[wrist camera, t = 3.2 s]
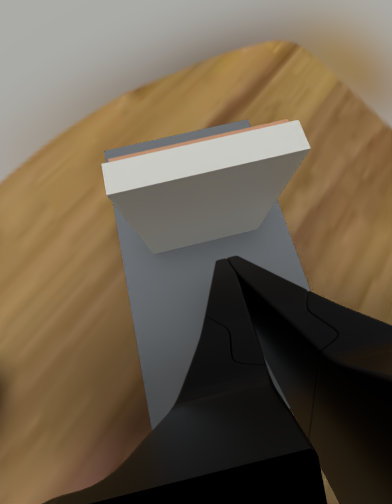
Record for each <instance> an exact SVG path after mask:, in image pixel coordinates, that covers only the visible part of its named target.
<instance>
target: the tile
mask: <svg viewBox="0 0 392 504" xmlns="http://www.w3.org/2000/svg"><path fill="white" fill-rule="evenodd" d="M310 149H311V148H310V146H309V143H308V141H307V139H306V136H305V134H304V132H303V129H302V127H301V125H300V122H299V120H296V121H292V122H289V120H288V119H285V120H281V121H276V122H272V123H267V124H263V125H258V126H254V127H249V128H245V129H240V130H236V131H231V132H227V133H222V134H218V135H213V136H209V137H204V138H200V139H196V140H191V141H187V142H182V143H178V144H173V145H169V146H164V147H160V148H155V149H151V150H146V151H142V152H137V153H133V154H128V155H124V156H119V157H115V158H110V159H108V161H109V162H108V163H104V164H102V170H103V176H104V182H105V188H106V194H107V196H108V198H109V199H110V200H111V201H112V203H113V204H114V205H115V206H116V208H117V209H118V210H119V211H120V213H121V214H122V215H123V216H124V218H125V219H126V220H127V221H128V223H129V224H130V225H131V226H132V228H133V229H134V230H135V231H136V233H137V234H138V235H139V237H140V238H141V239H142V240H143V242H144V243H145V244H146V245H147V247H148V248H149V249H150V250H151V252H152V253H153V254H157V253H161V252H166V251H170V250H174V249H178V248H182V247H186V246H190V245H195V244H199V243H203V242H207V241H211V240H215V239H219V238H224V237H228V236H232V235H236V234H240V233H244V232H248V231H253V230H257V229H258V227H259V226H260V224H261V223H262V221H263V220H264V218H265V217H266V215H267V214H268V212H269V211H270V209H271V208H272V206H273V205H274V203H275V202H276V200H277V199H278V197H279V196H280V194H281V193H282V191H283V189H284V188H285V186H286V185H287V183H288V182H289V180H290V179H291V177H292V176H293V174H294V173H295V171H296V170H297V168H298V167H299V165H300V164H301V162H302V161H303V159H304V158H305V156H306V155H307V153H308V152H309V150H310Z"/></svg>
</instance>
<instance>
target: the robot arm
mask: <svg viewBox="0 0 392 504" xmlns="http://www.w3.org/2000/svg"><path fill="white" fill-rule="evenodd" d="M264 358H265V359H266V361H267V363H268V365H269V367H270V369H271V371H272V373H273V375H274V377H275V379H276V381H277V383H278V385H279V387H280V389H281V391H282V393H283V394H284V396H285V398H286V400H287V402H288V404H289V406H290V408H291V410H292V412H293V414H294V416H295V417H294V416H293V414H292V413H291V411H290V410H289V408H288V406H287V405H286V403H285V402H284V400H283V399H282V397H281V395H280V394H279V392H278V391H277V389H276V387H275V386H274V384H273V381H272V379H271V376H270V374H269V371H268V368H267V365H266V362H265V359H264ZM295 418H296V419H295ZM296 420H297V421H296ZM320 467H321V468H320ZM321 469H322V470H323V472H324V474H325V476H326V478H327V480H328V482H329V484H330V486H331V488H332V490H333V492H334V494H335V496H336V498H337V500H338V502H339V504H392V325H389V324H387V323H384V322H382V321H379V320H377V319H374V318H371V317H369V316H366V315H364V314H361V313H359V312H356V311H354V310H351V309H349V308H346V307H344V306H342V305H339V304H337V303H334V302H332V301H330V300H328V299H326V298H324V297H321V296H319V295H317V294H315V293H313V292H311V291H308V290H307V289H305V288H303V287H301V286H299V285H297V284H295V283H293V282H291V281H288V280H286V279H284V278H282V277H280V276H278V275H276V274H274V273H272V272H270V271H268V270H266V269H264V268H262V267H260V266H258V265H256V264H254V263H252V262H250V261H248V260H246V259H244V258H242V257H240V256H237V255H235V256H231V257H228V258H227V259H226V258H223V259H219V260H216V262H215V266H214V271H213V276H212V281H211V286H210V291H209V296H208V301H207V306H206V311H205V318H204V321H203V326H202V330H201V334H200V338H199V341H198V344H197V347H196V350H195V353H194V356H193V358H192V361H191V364H190V366H189V369H188V372H187V374H186V377H185V380H184V382H183V385H182V388H181V390H180V393H179V395H178V397H177V399H176V401H175V403H174V405H173V407H172V408H171V410H170V411H169V412H168V414H167V415H166V416H165V417H164V418H163V419H162V420H161V421H160V422H159V424H158V425H157V426H156V427H155V428H154V429H153V430H152V431H151V432H150V434H149V435H148V436H147V437H146V438H145V439H144V440H143V441H142V442H141V444H140V445H139V446H138V447H137V448H136V449H135V450H134V451H133V452H132V453H131V455H130V456H129V457H128V458H127V459H126V460H125V461H124V462H123V463H122V464H121V465H120V466H119V467H118V468H117V469H116V470H115V471H114V472H113V473H111V474H110V475H109V476H107V477H106V478H105V479H103V480H101V481H100V482H98V483H96V484H94V485H93V486H90V487H88V488H85V489H83V490H80V491H76V492H73V493H69V494H65V495H62V496H59V497H56V498H53V499H50V500H48V501H47V502H45V503H43V504H327V500H326V495H325V490H324V484H323V479H322V474H321Z"/></svg>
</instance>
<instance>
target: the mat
mask: <svg viewBox="0 0 392 504" xmlns="http://www.w3.org/2000/svg"><path fill="white" fill-rule="evenodd" d="M249 127H251V126H250V124H249V121H248V119H247V120H242V121H238V122H233V123H229V124H224V125H220V126H215V127H211V128H206V129H202V130H197V131H193V132H188V133H184V134H179V135H175V136H170V137H166V138H161V139H157V140H152V141H148V142H143V143H139V144H134V145H130V146H125V147H121V148H116V149H112V150H107V151H104V154H105V159H106V163H108V162H109V161H108V159H110V158H115V157H119V156H124V155H128V154H133V153H137V152H142V151H146V150H151V149H155V148H160V147H164V146H169V145H173V144H178V143H182V142H187V141H191V140H196V139H200V138H204V137H209V136H213V135H218V134H222V133H227V132H231V131H236V130H240V129H245V128H249ZM113 206H114V212H115V218H116V224H117V230H118V236H119V241H120V247H121V253H122V259H123V265H124V271H125V277H126V282H127V288H128V294H129V300H130V306H131V312H132V318H133V323H134V329H135V335H136V341H137V347H138V353H139V359H140V364H141V370H142V376H143V382H144V388H145V394H146V400H147V406H148V411H149V417H150V423H151V429H152V430H153V429H154V428H155V427H156V426H157V425H158V424H159V422H160V421H161V420H162V419H163V418H164V417H165V416H166V415H167V414H168V412H169V411H170V410H171V408H172V407H173V405H174V403H175V401H176V399H177V397H178V395H179V393H180V390H181V388H182V385H183V382H184V380H185V377H186V374H187V372H188V369H189V366H190V364H191V361H192V358H193V356H194V353H195V350H196V347H197V344H198V341H199V338H200V334H201V330H202V326H203V321H204V318H205V311H206V306H207V301H208V296H209V291H210V286H211V281H212V276H213V271H214V266H215V262H216V260H219V259H223V258H226V259H227V258H228V257H231V256H235V255H237V256H240V257H242V258H244V259H246V260H248V261H250V262H252V263H254V264H256V265H258V266H260V267H262V268H264V269H266V270H268V271H270V272H272V273H274V274H276V275H278V276H280V277H282V278H284V279H286V280H288V281H291V282H293V283H295V284H297V285H299V286H301V287H303V288H305V289H307V290H308V291H310V288H309V285H308V283H307V280H306V277H305V274H304V272H303V269H302V266H301V263H300V261H299V258H298V255H297V253H296V250H295V247H294V244H293V242H292V239H291V236H290V233H289V231H288V228H287V225H286V222H285V220H284V217H283V214H282V211H281V209H280V206H279V203H278V200H276V202H275V203H274V205H273V206H272V208H271V209H270V211H269V212H268V214H267V215H266V217H265V218H264V220H263V221H262V223H261V224H260V226H259V227H258V229H257V230H253V231H248V232H244V233H240V234H236V235H232V236H228V237H224V238H219V239H215V240H211V241H207V242H203V243H199V244H195V245H190V246H186V247H182V248H178V249H174V250H170V251H166V252H161V253H157V254H153V253H152V252H151V250H150V249H149V248H148V247H147V245H146V244H145V243H144V242H143V240H142V239H141V238H140V237H139V235H138V234H137V233H136V231H135V230H134V229H133V228H132V226H131V225H130V224H129V223H128V221H127V220H126V219H125V218H124V216H123V215H122V214H121V213H120V211H119V210H118V209H117V208H116V206H115V205H114V204H113ZM264 359H265V358H264ZM265 362H266V365H267V368H268V371H269V374H270V376H271V379H272V381H273V384H274V386H275V387H276V389H277V391H278V392H279V394H280V395H281V397H282V399H283V400H284V402H285V403H286V405H287V406H288V408H290V406H289V404H288V402H287V400H286V398H285V396H284V394H283V393H282V391H281V389H280V387H279V385H278V383H277V381H276V379H275V377H274V375H273V373H272V371H271V369H270V367H269V365H268V363H267V361H266V359H265Z"/></svg>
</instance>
